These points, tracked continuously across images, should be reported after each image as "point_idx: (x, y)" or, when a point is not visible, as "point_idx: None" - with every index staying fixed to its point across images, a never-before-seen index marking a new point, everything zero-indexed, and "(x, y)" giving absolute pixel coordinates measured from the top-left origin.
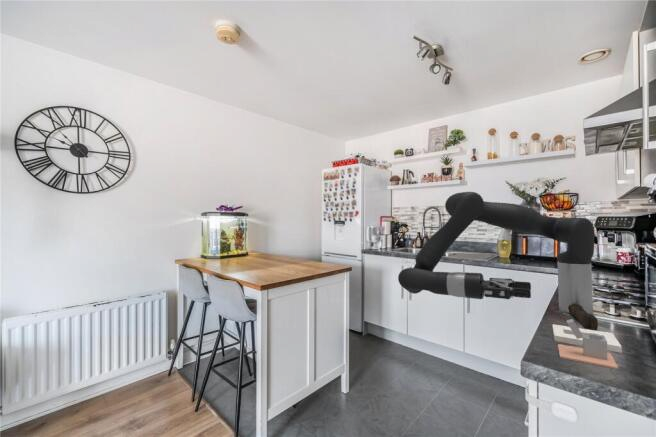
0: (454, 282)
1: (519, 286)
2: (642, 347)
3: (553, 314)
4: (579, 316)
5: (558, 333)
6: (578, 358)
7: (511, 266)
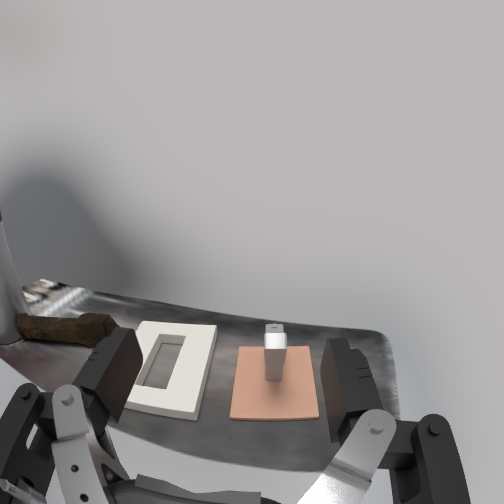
0: None
1: (116, 390)
2: (177, 310)
3: (19, 364)
4: (62, 333)
5: (172, 401)
6: (308, 389)
7: None
